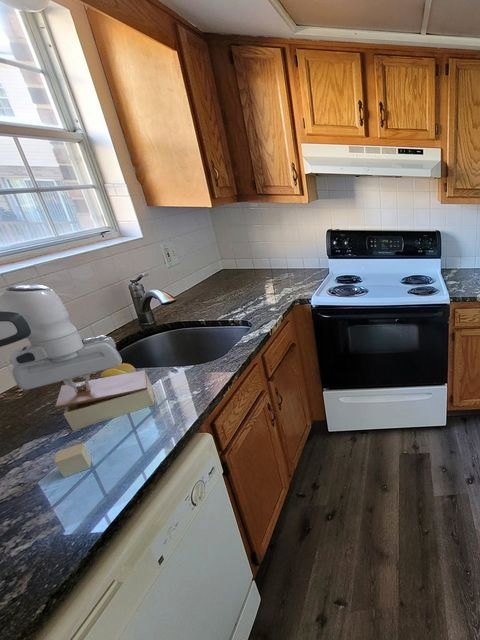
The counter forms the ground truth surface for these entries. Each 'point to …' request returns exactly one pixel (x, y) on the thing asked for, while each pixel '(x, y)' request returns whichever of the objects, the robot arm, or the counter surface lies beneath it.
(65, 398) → the cover
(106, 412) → the case
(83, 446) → the tan block
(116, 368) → the yellow rounded lump
